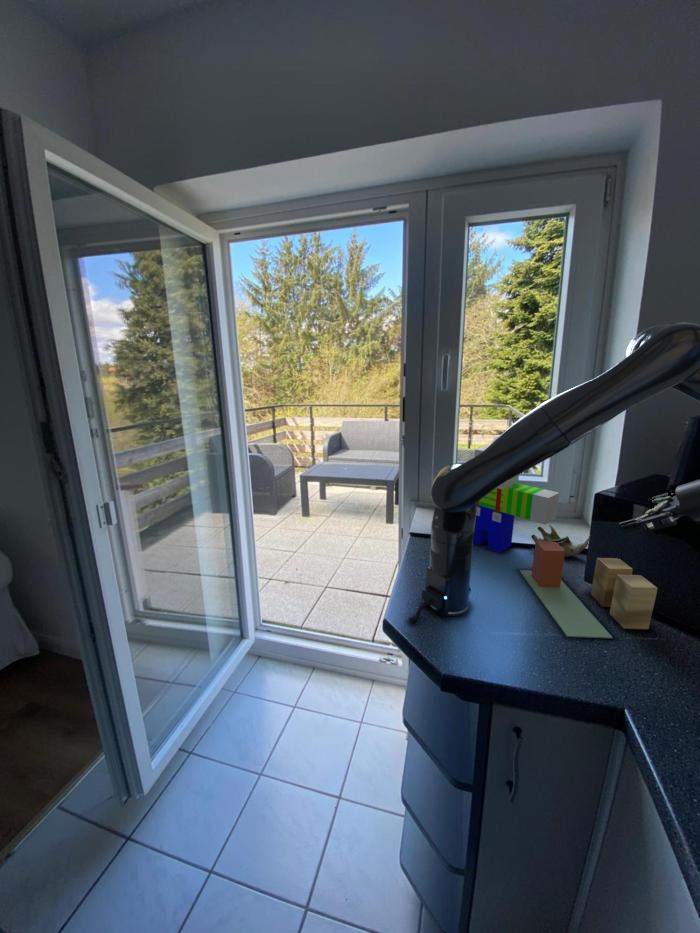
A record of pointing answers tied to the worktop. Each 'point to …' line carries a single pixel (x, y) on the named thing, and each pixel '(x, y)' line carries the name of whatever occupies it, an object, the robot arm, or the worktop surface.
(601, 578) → the maple block
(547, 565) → the terracotta block
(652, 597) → the maple block
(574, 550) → the jawbone
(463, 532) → the robot arm
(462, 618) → the worktop surface
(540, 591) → the mat
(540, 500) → the toy
